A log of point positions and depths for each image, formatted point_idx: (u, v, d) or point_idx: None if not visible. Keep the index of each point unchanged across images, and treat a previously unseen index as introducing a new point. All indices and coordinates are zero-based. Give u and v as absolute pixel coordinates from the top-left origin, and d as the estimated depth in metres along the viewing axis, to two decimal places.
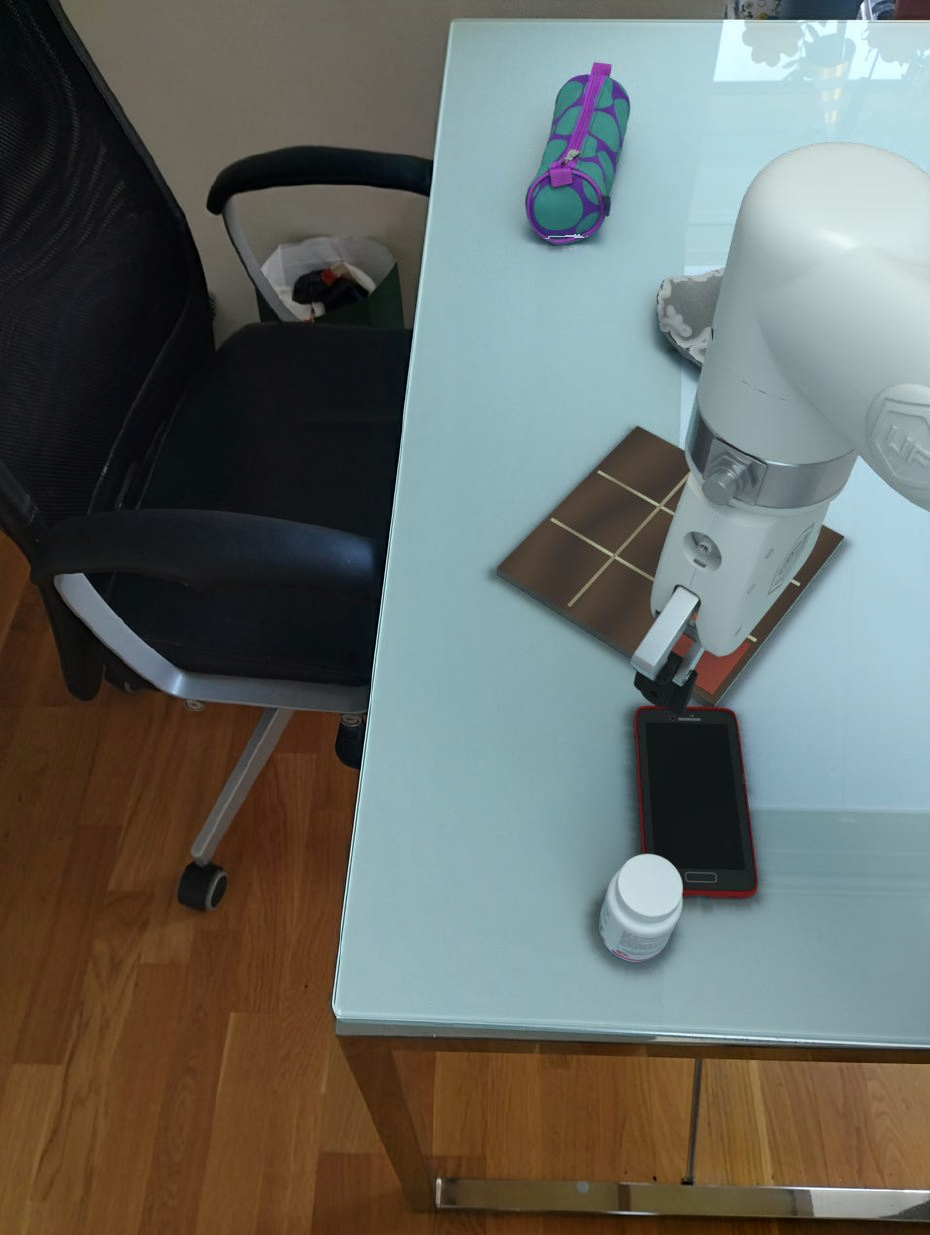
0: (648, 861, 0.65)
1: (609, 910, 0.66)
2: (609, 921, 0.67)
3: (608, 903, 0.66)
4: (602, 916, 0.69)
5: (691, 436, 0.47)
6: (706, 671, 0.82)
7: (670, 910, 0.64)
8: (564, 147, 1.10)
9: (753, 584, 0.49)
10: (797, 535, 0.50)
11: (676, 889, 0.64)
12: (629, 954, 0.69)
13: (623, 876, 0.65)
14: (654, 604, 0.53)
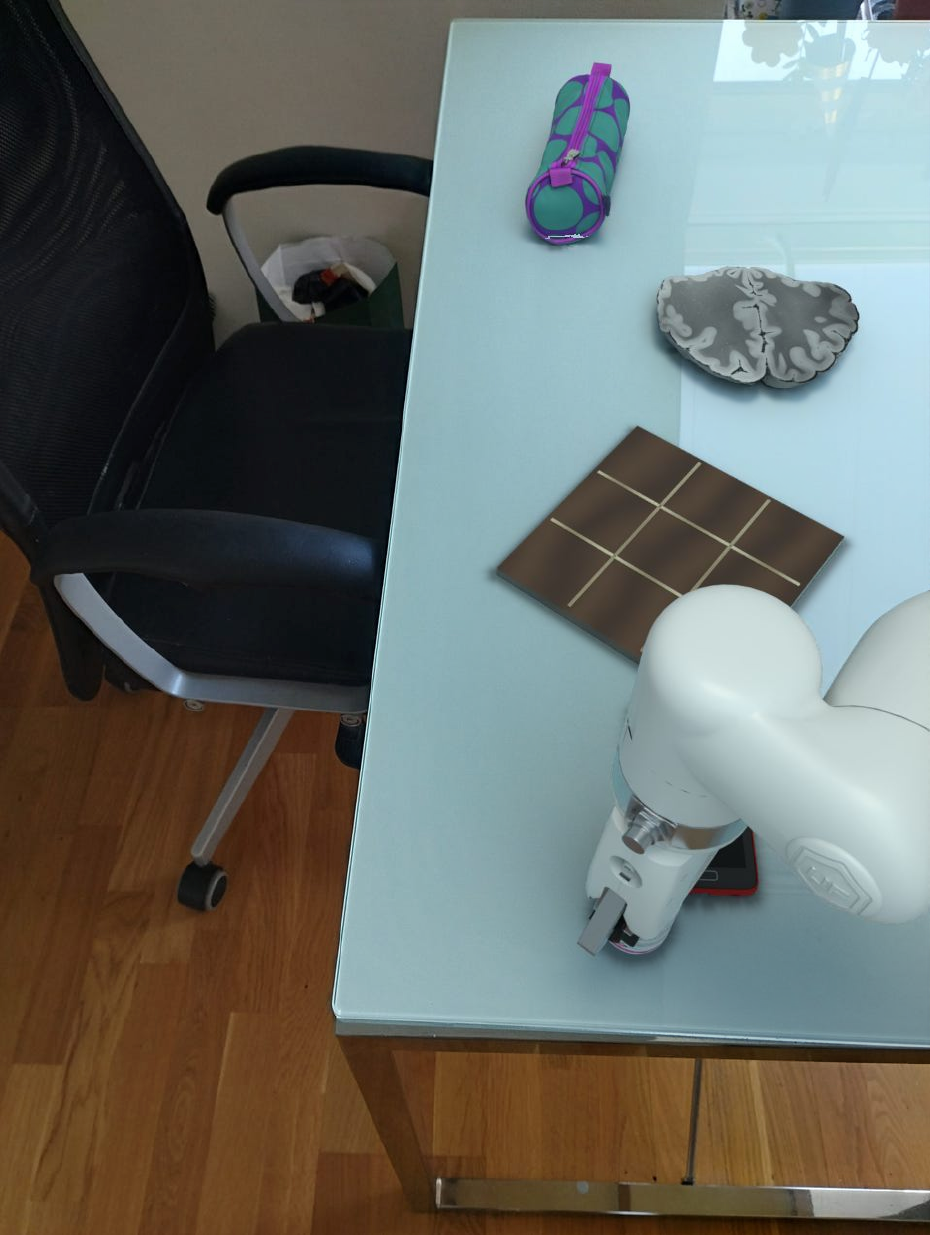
0: None
1: None
2: None
3: None
4: None
5: (615, 778, 0.53)
6: None
7: None
8: (564, 147, 1.10)
9: (671, 898, 0.55)
10: None
11: None
12: (628, 945, 0.69)
13: None
14: (588, 892, 0.60)
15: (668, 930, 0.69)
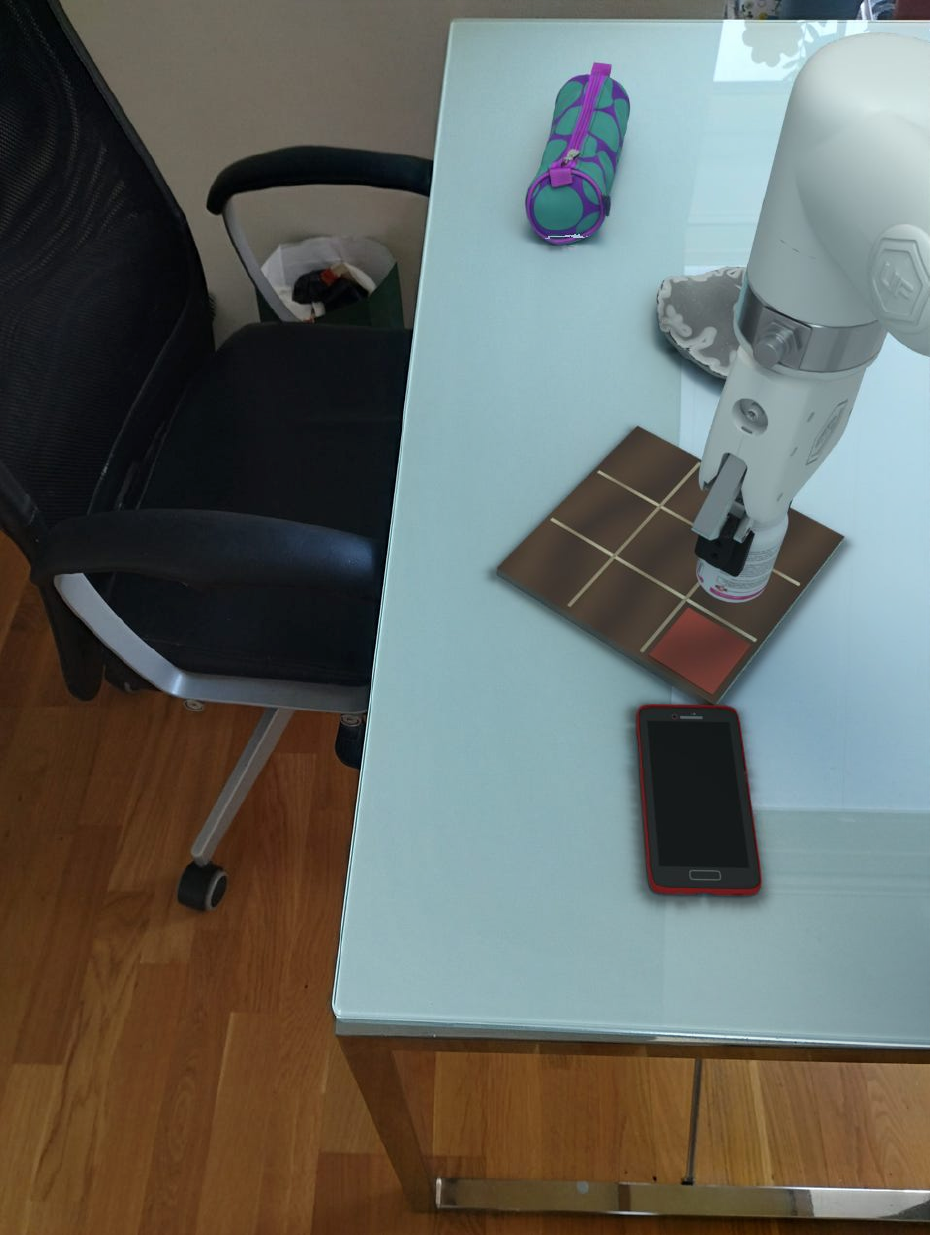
0: None
1: None
2: None
3: None
4: None
5: (741, 311, 0.53)
6: (706, 671, 0.82)
7: None
8: (564, 147, 1.10)
9: (795, 447, 0.55)
10: (834, 405, 0.55)
11: None
12: (729, 588, 0.68)
13: None
14: (703, 476, 0.59)
15: (770, 569, 0.68)
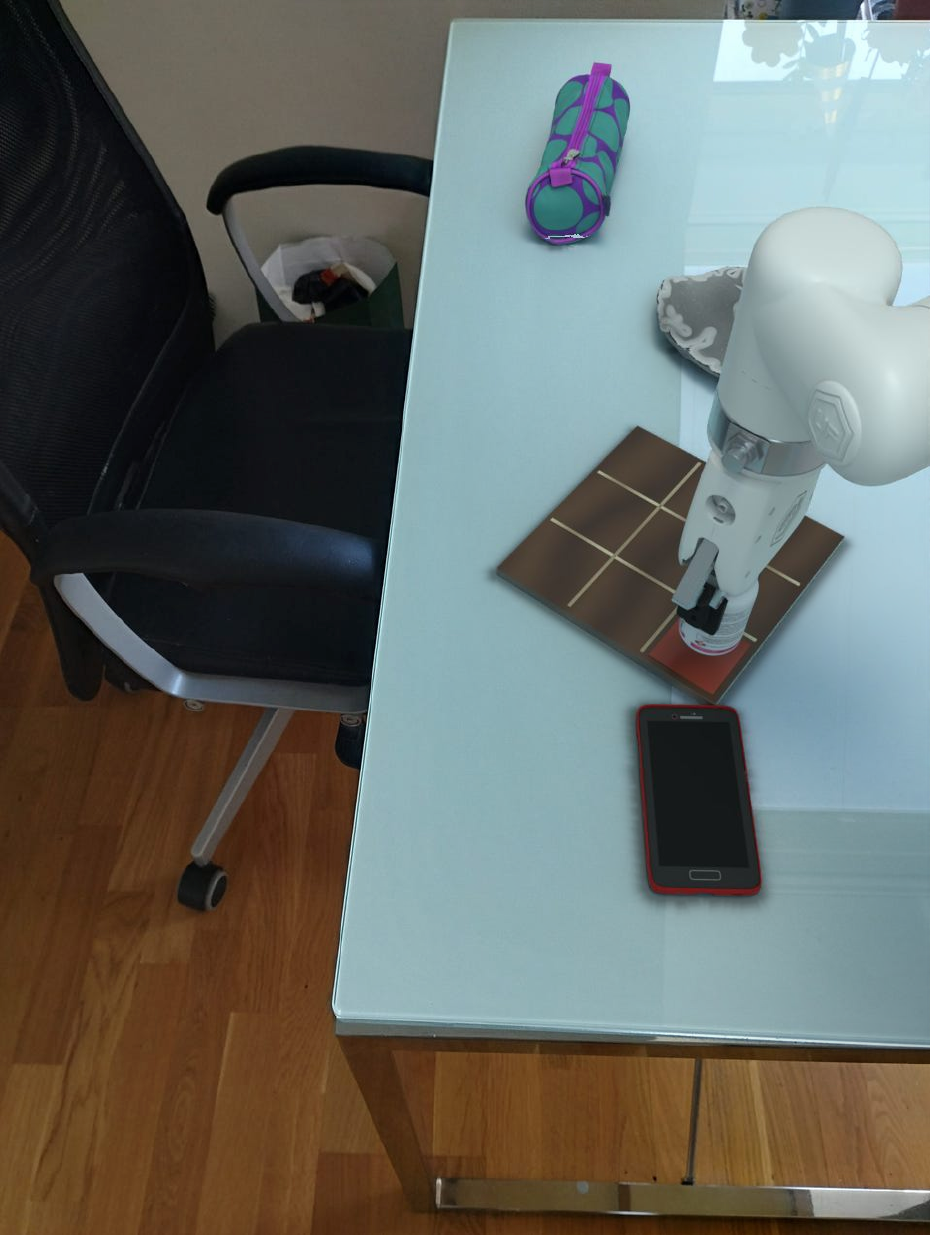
0: None
1: None
2: None
3: None
4: None
5: (712, 422, 0.62)
6: (706, 671, 0.82)
7: None
8: (564, 147, 1.10)
9: (759, 535, 0.64)
10: (793, 498, 0.65)
11: None
12: (707, 643, 0.78)
13: None
14: (681, 554, 0.68)
15: (743, 627, 0.77)
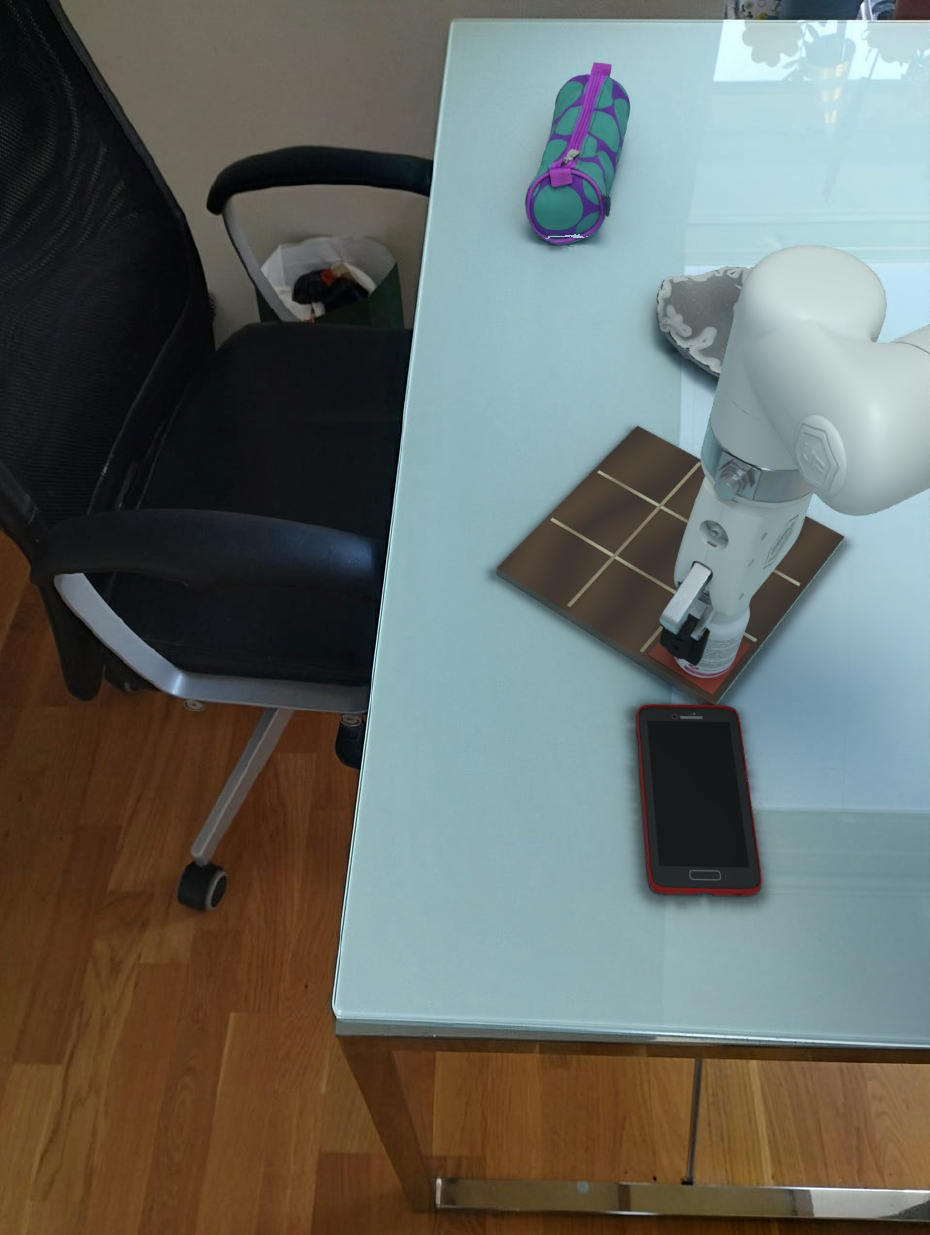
0: None
1: None
2: None
3: None
4: None
5: (705, 449, 0.64)
6: None
7: None
8: (564, 147, 1.10)
9: (752, 559, 0.65)
10: (785, 523, 0.66)
11: None
12: (700, 667, 0.80)
13: None
14: (677, 577, 0.70)
15: (735, 652, 0.79)
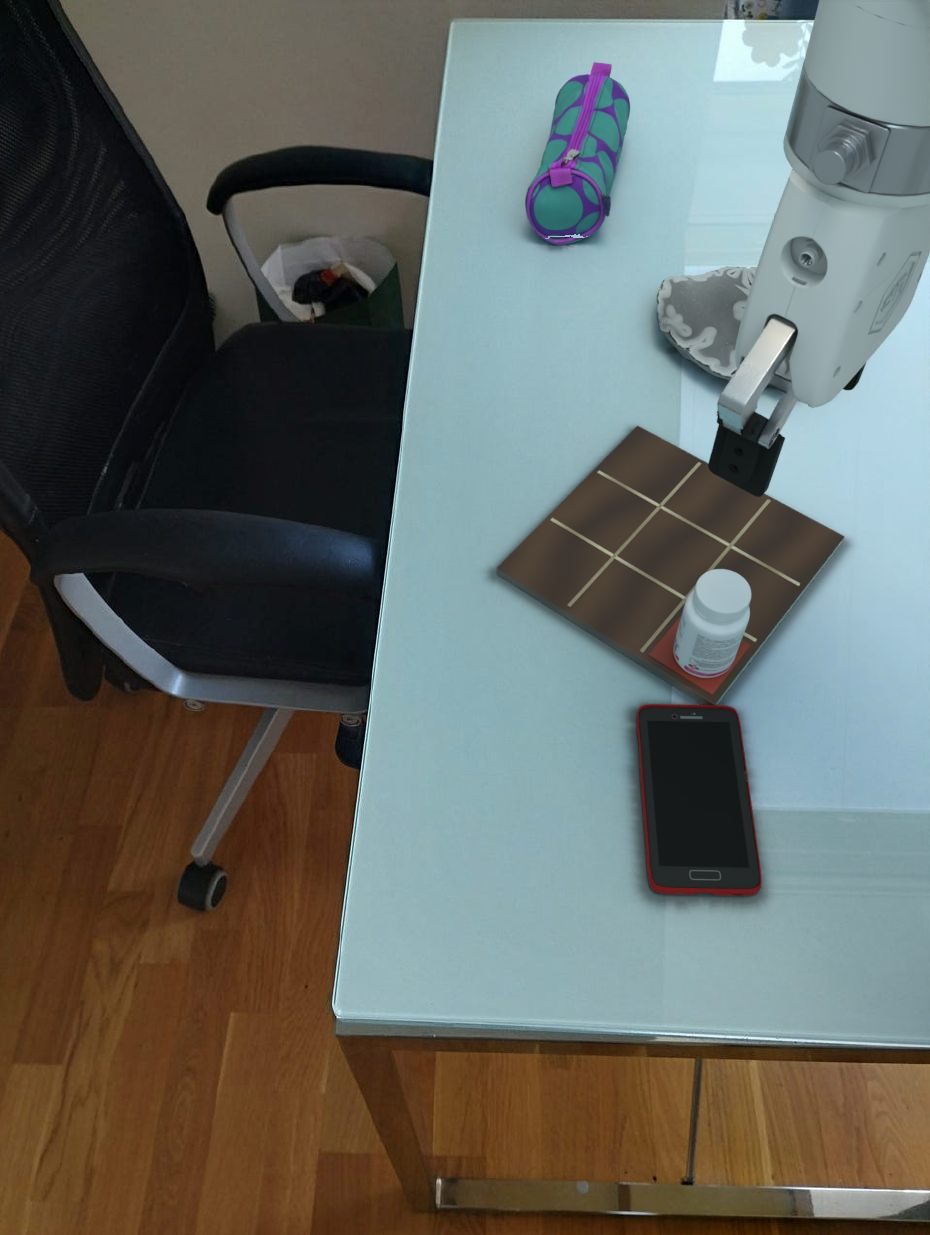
0: (722, 574, 0.77)
1: (686, 618, 0.78)
2: (685, 631, 0.79)
3: (685, 612, 0.78)
4: (678, 633, 0.80)
5: (795, 123, 0.42)
6: None
7: (740, 609, 0.75)
8: (564, 147, 1.10)
9: (860, 301, 0.44)
10: (907, 252, 0.44)
11: (746, 595, 0.75)
12: (700, 667, 0.80)
13: (700, 583, 0.76)
14: (740, 350, 0.48)
15: (735, 652, 0.79)
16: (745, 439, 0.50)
